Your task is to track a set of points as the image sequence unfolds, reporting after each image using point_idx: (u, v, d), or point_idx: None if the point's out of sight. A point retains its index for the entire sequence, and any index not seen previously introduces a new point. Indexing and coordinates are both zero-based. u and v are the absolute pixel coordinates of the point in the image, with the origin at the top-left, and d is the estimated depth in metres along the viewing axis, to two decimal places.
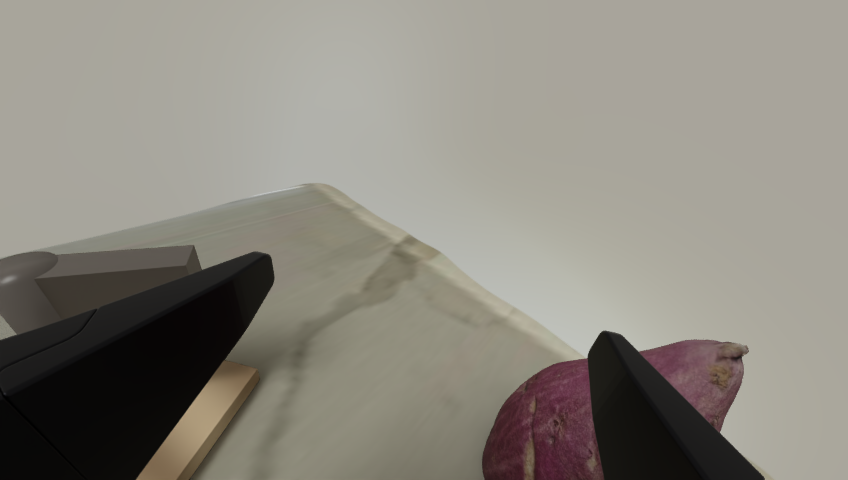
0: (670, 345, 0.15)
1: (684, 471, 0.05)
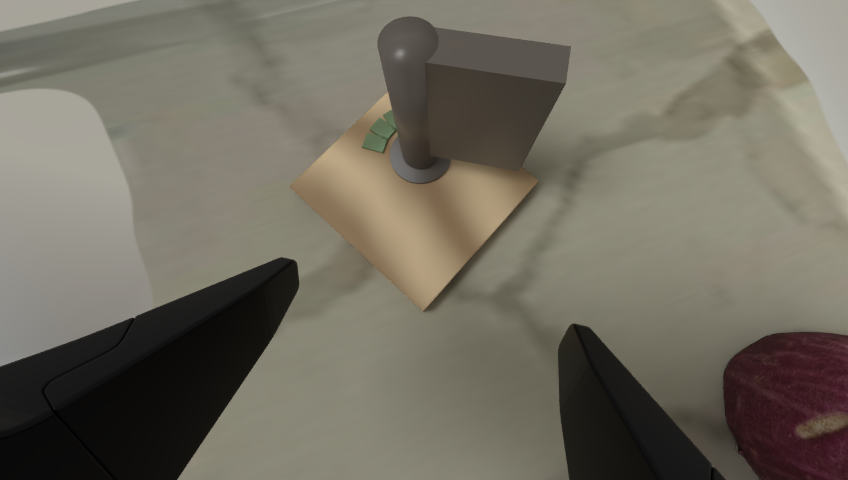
0: None
1: (634, 458, 0.05)
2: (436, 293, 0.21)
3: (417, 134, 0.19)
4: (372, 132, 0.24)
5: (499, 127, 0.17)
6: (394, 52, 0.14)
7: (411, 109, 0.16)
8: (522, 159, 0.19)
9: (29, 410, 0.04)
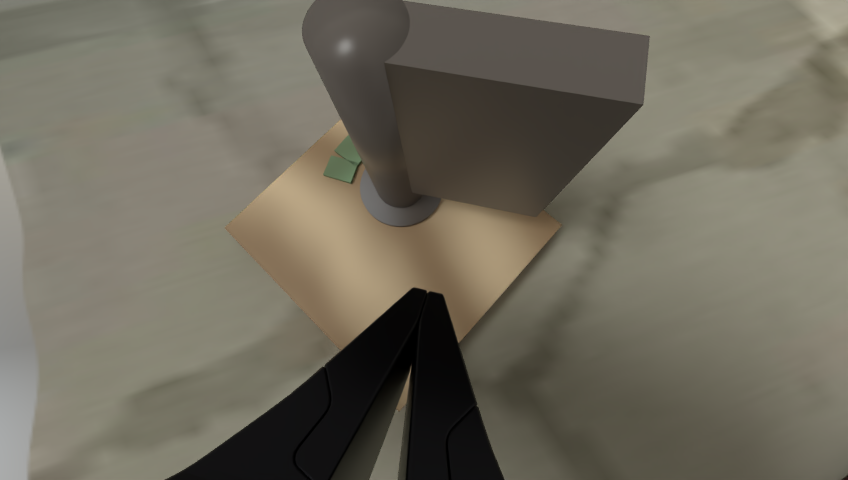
0: None
1: (411, 400, 0.06)
2: None
3: (389, 169, 0.13)
4: (338, 154, 0.18)
5: (512, 165, 0.11)
6: (330, 44, 0.08)
7: (373, 137, 0.10)
8: (543, 205, 0.13)
9: None
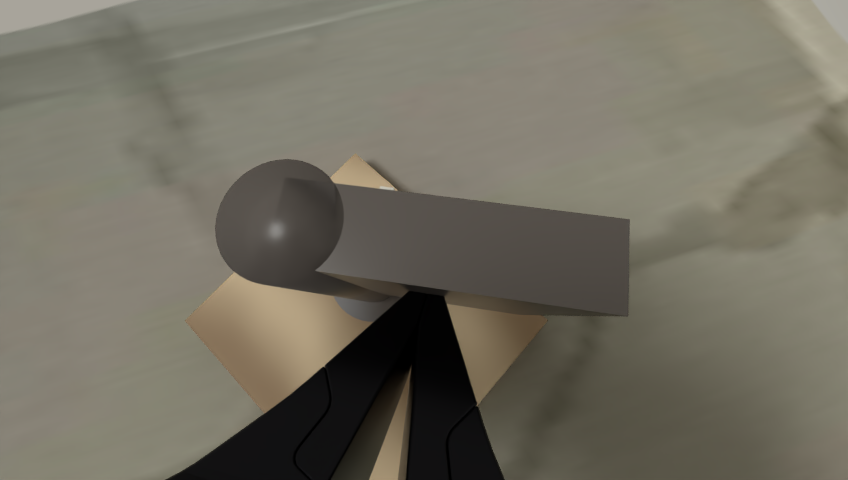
0: None
1: (411, 400, 0.06)
2: None
3: (352, 296, 0.11)
4: None
5: (485, 304, 0.10)
6: (250, 247, 0.06)
7: (324, 293, 0.09)
8: (526, 314, 0.12)
9: None
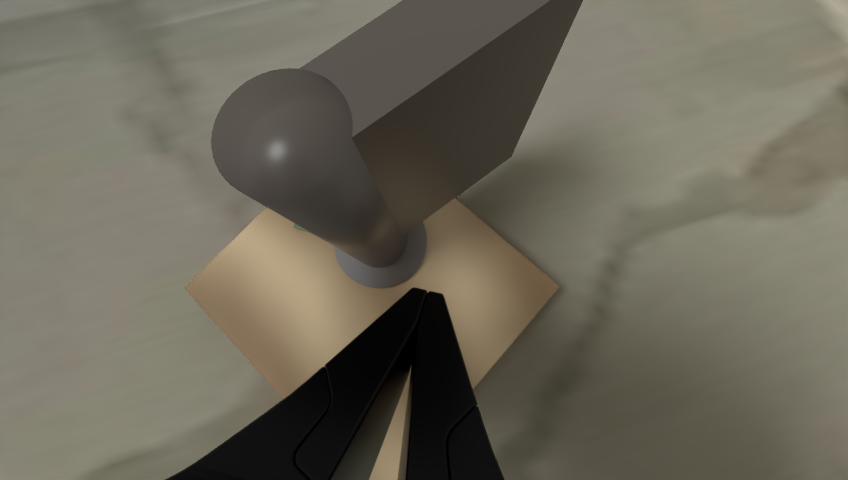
0: None
1: (411, 400, 0.06)
2: None
3: (384, 235, 0.11)
4: None
5: (488, 129, 0.10)
6: (279, 171, 0.06)
7: (365, 220, 0.08)
8: (516, 140, 0.13)
9: None
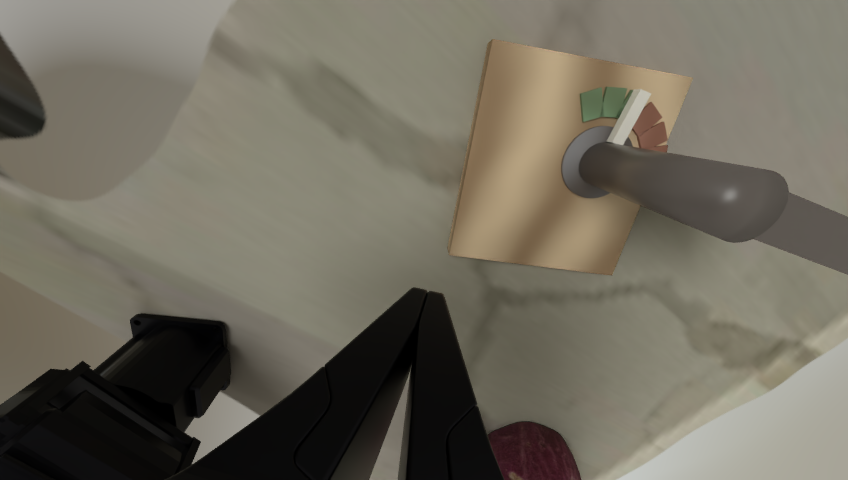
0: None
1: (411, 400, 0.06)
2: (469, 256, 0.23)
3: None
4: (604, 91, 0.19)
5: None
6: (727, 220, 0.11)
7: None
8: None
9: None
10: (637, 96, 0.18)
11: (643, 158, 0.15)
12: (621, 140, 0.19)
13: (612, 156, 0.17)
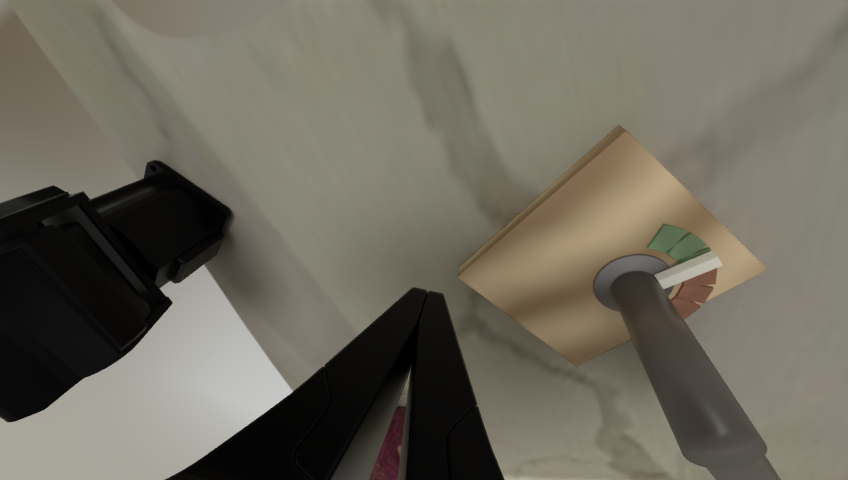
0: None
1: (411, 400, 0.06)
2: (473, 287, 0.23)
3: None
4: (686, 234, 0.18)
5: None
6: (698, 447, 0.12)
7: None
8: None
9: None
10: (709, 260, 0.18)
11: (673, 331, 0.16)
12: (667, 284, 0.19)
13: (649, 301, 0.17)
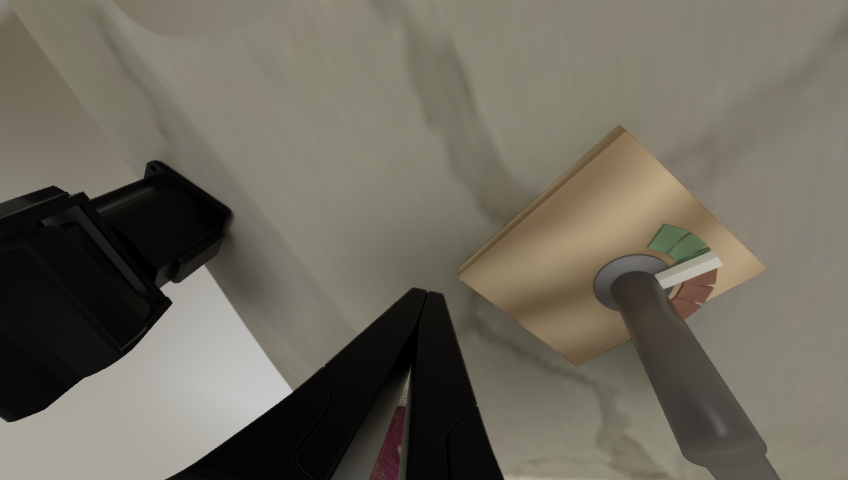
0: None
1: (411, 400, 0.06)
2: (473, 287, 0.23)
3: None
4: (686, 234, 0.18)
5: None
6: (698, 447, 0.12)
7: None
8: None
9: None
10: (709, 260, 0.18)
11: (673, 331, 0.16)
12: (667, 284, 0.19)
13: (649, 301, 0.17)
